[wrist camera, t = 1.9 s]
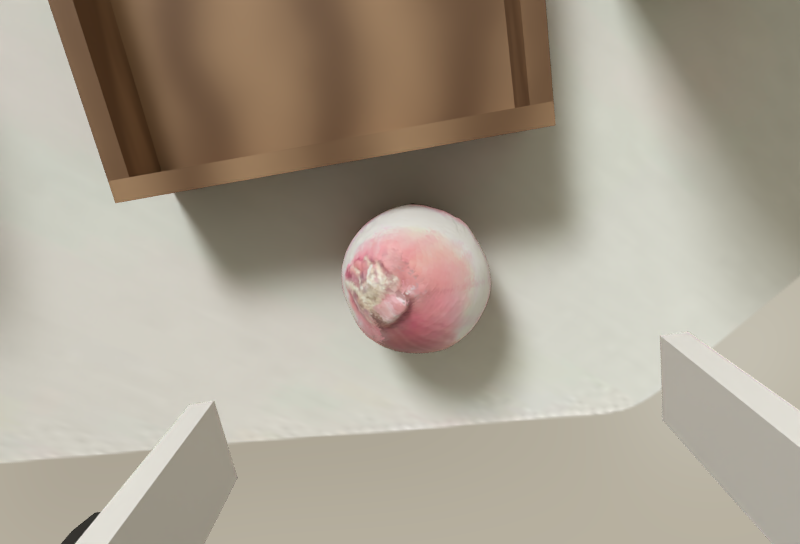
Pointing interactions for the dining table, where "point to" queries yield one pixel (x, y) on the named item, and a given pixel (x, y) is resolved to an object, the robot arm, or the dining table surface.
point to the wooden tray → (296, 82)
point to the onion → (415, 279)
